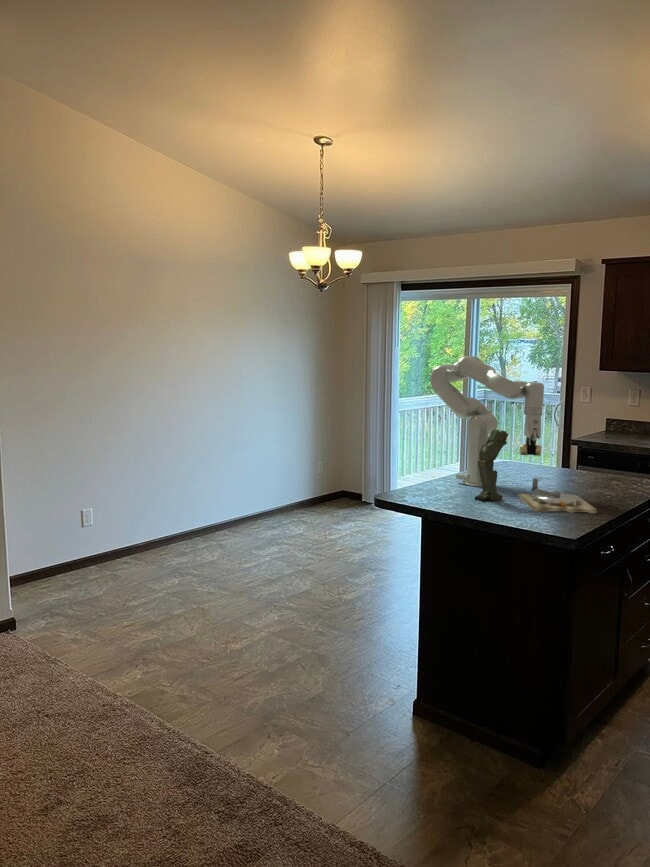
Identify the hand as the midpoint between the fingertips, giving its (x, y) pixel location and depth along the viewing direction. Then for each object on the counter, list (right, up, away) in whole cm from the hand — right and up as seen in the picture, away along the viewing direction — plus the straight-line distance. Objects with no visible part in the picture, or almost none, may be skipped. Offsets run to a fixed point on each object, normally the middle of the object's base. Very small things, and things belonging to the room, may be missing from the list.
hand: (530, 453), depth 294 cm
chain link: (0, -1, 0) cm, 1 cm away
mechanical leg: (-21, -19, -15) cm, 32 cm away
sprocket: (+3, -18, -22) cm, 28 cm away
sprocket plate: (+4, -20, -22) cm, 30 cm away
